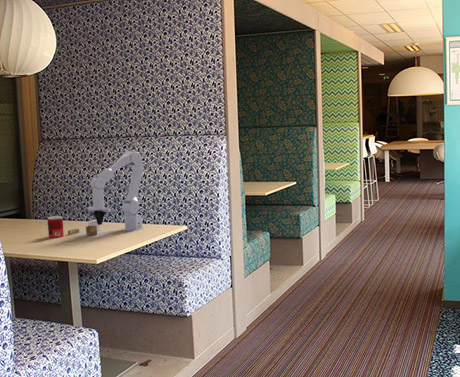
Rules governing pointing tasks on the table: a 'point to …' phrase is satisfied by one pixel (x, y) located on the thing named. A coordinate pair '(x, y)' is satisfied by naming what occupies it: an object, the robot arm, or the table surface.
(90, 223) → the tile
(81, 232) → the mat
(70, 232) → the rail
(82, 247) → the table surface
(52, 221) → the canned food
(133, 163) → the robot arm
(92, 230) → the block
